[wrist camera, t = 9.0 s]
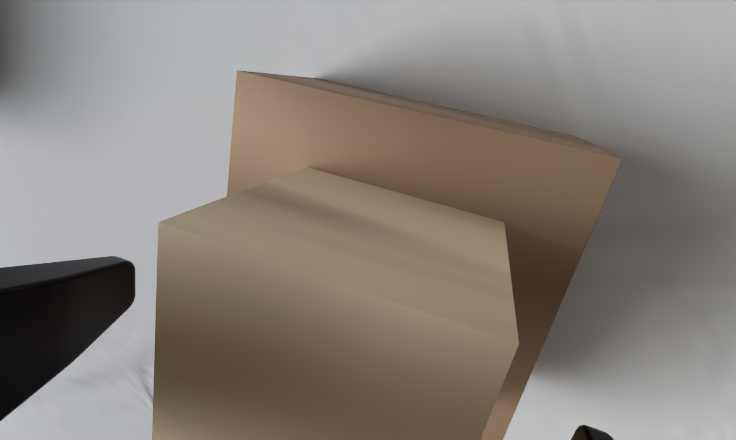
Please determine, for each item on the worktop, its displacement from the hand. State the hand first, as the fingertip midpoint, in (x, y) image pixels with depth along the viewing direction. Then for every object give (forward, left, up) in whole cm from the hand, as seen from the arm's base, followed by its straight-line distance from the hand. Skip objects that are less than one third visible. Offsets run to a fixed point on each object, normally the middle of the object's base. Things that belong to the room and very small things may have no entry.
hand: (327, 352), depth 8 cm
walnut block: (0, 0, -8) cm, 8 cm away
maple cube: (0, 0, -3) cm, 3 cm away
